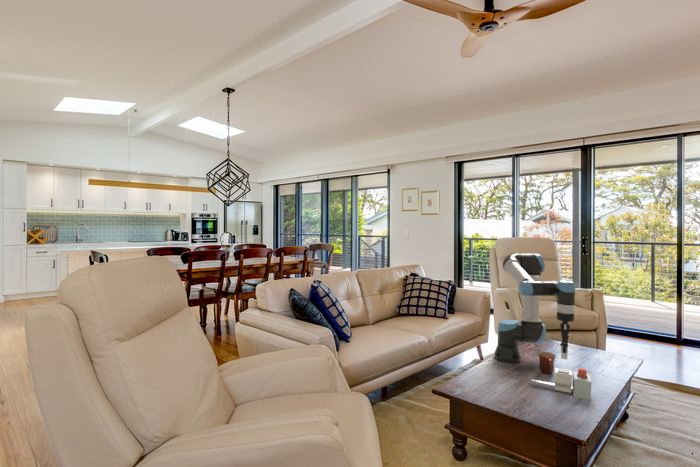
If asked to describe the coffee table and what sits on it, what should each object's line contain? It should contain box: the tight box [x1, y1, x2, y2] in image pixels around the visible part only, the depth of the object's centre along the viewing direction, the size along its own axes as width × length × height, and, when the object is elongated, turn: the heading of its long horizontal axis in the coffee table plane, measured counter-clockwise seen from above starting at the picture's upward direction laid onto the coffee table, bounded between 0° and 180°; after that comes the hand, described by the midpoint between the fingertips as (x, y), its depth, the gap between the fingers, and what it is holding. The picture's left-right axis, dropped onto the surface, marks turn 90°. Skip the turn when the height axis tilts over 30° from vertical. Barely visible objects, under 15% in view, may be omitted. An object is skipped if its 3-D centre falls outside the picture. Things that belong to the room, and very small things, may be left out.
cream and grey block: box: [554, 367, 573, 394], centre depth 192 cm, size 7×7×9 cm
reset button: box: [577, 368, 588, 377], centre depth 188 cm, size 4×4×3 cm
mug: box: [537, 351, 556, 376], centre depth 214 cm, size 12×9×10 cm
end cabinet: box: [572, 371, 592, 401], centre depth 189 cm, size 7×10×9 cm
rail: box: [530, 378, 573, 395], centre depth 195 cm, size 20×2×2 cm, turn 62°
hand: (563, 354), depth 192 cm, fingers open, 13 cm apart
